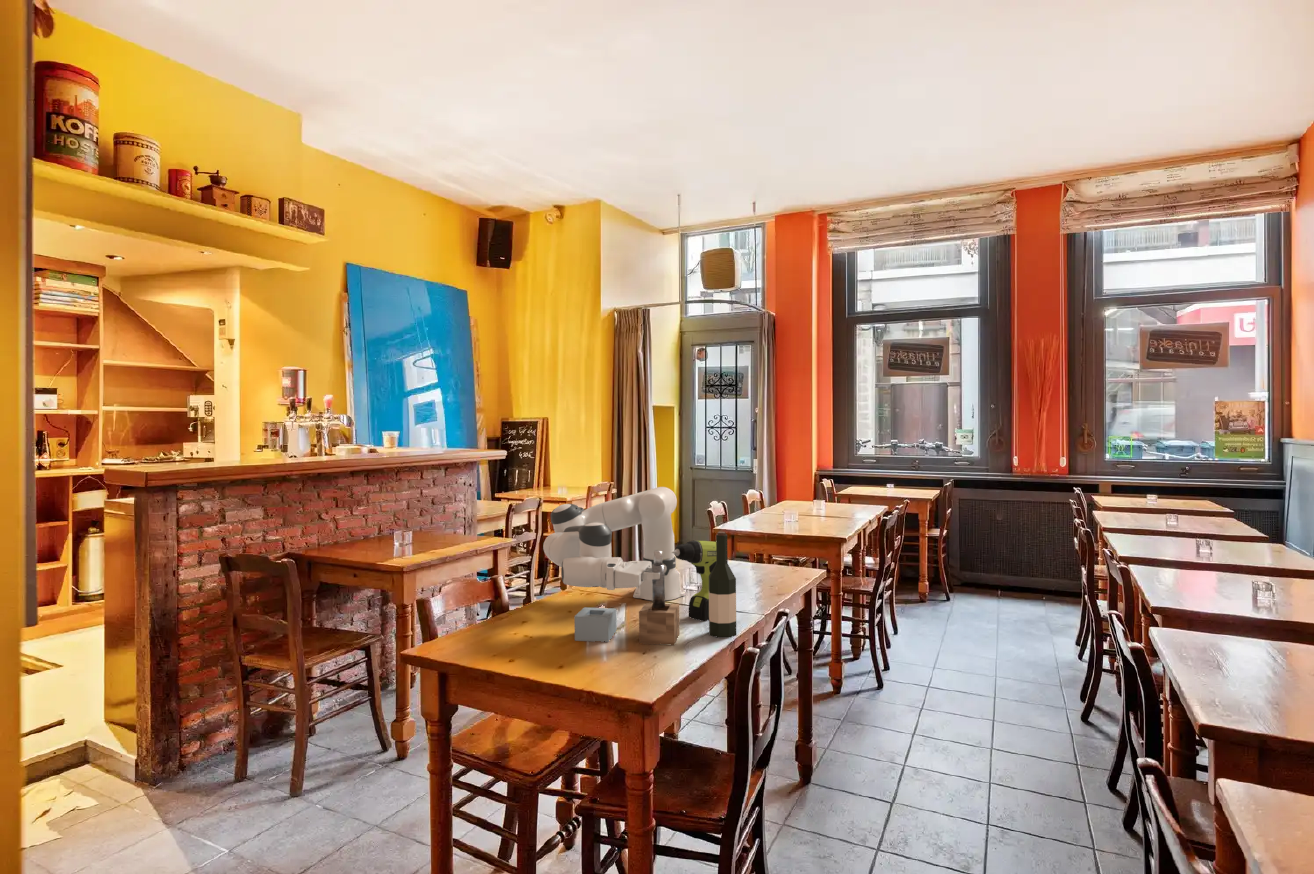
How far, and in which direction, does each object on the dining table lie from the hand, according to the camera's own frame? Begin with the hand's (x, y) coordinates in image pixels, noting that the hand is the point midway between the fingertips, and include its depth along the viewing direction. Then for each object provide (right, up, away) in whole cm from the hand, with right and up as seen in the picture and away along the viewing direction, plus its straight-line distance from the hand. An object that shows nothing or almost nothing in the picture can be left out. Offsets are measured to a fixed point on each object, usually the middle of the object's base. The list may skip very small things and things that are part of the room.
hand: (661, 573), depth 203 cm
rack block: (-1, -19, +1) cm, 19 cm away
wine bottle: (+18, -19, +5) cm, 27 cm away
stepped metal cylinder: (-1, -10, 0) cm, 10 cm away
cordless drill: (+12, -19, +22) cm, 31 cm away
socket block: (-19, -19, +4) cm, 27 cm away
